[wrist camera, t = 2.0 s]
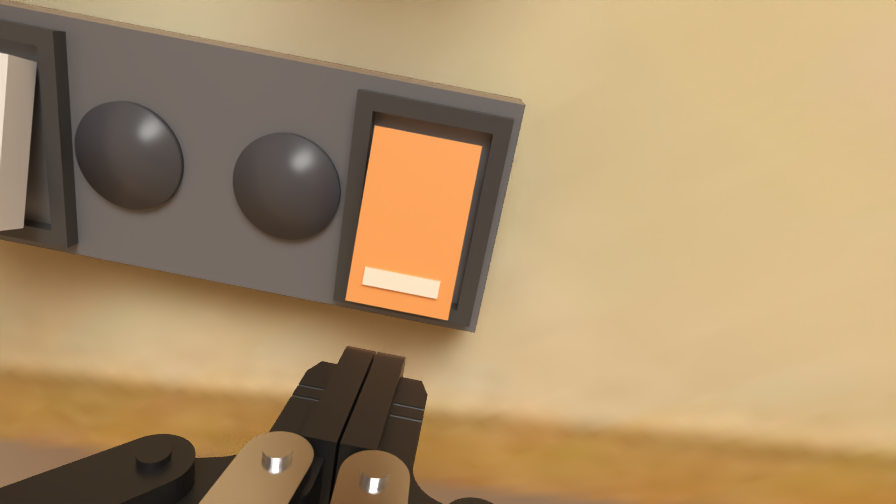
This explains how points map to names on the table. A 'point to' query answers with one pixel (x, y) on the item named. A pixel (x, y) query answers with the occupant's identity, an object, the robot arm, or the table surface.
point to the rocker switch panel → (231, 156)
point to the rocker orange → (412, 222)
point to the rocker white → (15, 136)
